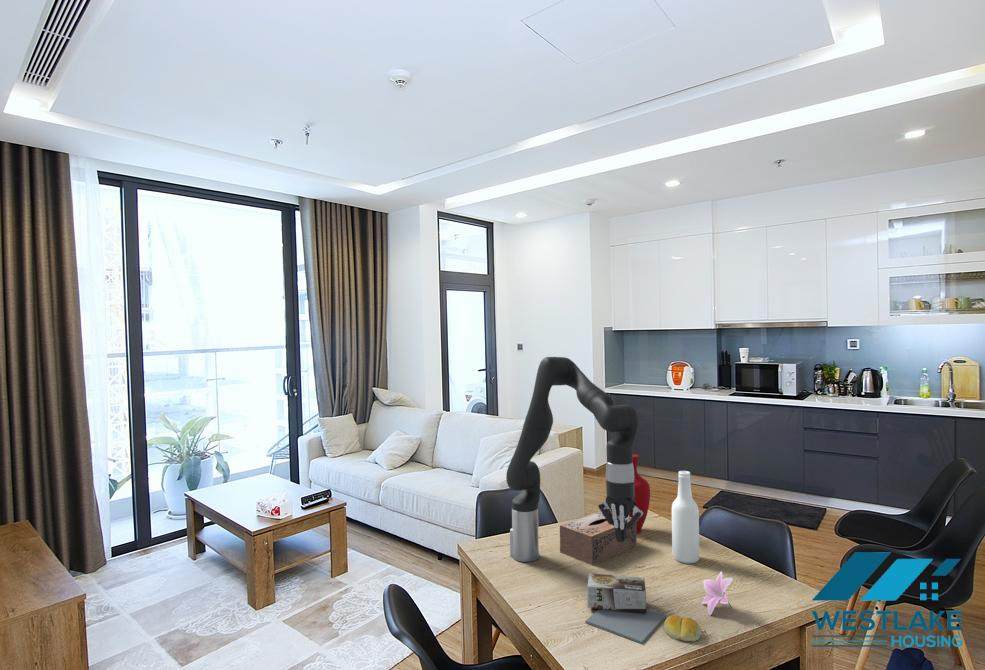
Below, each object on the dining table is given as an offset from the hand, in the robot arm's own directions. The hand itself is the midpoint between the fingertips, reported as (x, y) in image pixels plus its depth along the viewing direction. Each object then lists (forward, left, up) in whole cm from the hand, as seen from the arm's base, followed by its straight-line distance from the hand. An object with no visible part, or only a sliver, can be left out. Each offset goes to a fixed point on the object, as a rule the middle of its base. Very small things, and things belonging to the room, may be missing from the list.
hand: (621, 541), depth 145 cm
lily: (+19, +21, -22) cm, 36 cm away
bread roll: (+15, +3, -22) cm, 27 cm away
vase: (-26, +62, -21) cm, 71 cm away
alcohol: (0, +49, -21) cm, 54 cm away
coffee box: (-12, +2, -17) cm, 21 cm away
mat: (+1, 0, -21) cm, 21 cm away
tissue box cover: (-28, +39, -22) cm, 53 cm away
